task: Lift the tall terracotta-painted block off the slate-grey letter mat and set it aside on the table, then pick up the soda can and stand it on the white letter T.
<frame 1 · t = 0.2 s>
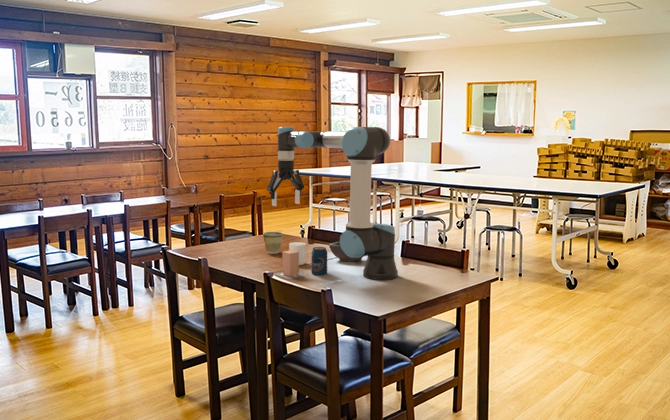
hand: (286, 204, 296), 28 cm above the table, tool pointing down, fingers open, 13 cm apart
soda can: (319, 275, 275), on the table
block: (290, 274, 273), point 1 cm above the table, touching mat
mortar and pestle: (349, 261, 305), on the table
mat: (290, 275, 273), on the table
white cup: (297, 265, 295), on the table
ceramic cup: (274, 252, 323), on the table
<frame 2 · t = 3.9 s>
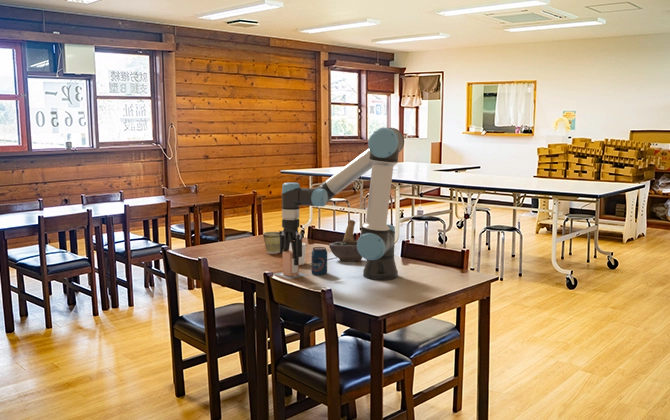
hand: (290, 271, 273), 2 cm above the table, tool pointing down, fingers closed on block, 5 cm apart
block: (290, 274, 273), point 1 cm above the table, touching gripper, mat
everything else where it was.
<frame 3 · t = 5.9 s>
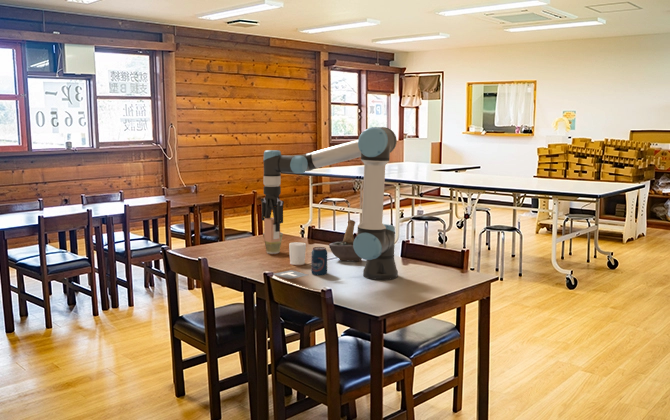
hand: (272, 237, 278), 16 cm above the table, tool pointing down, fingers closed on block, 5 cm apart
block: (272, 240, 278), point 14 cm above the table, touching gripper
everything else where it was.
when the fingers open (3 cm above the table, at t = 8.3 s): block drops 2 cm, on the table.
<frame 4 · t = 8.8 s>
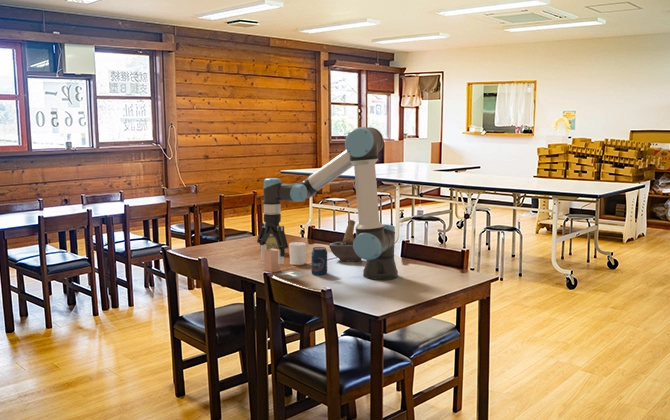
hand: (272, 261, 279), 5 cm above the table, tool pointing down, fingers open, 12 cm apart
block: (272, 272, 280), on the table
everything else where it was.
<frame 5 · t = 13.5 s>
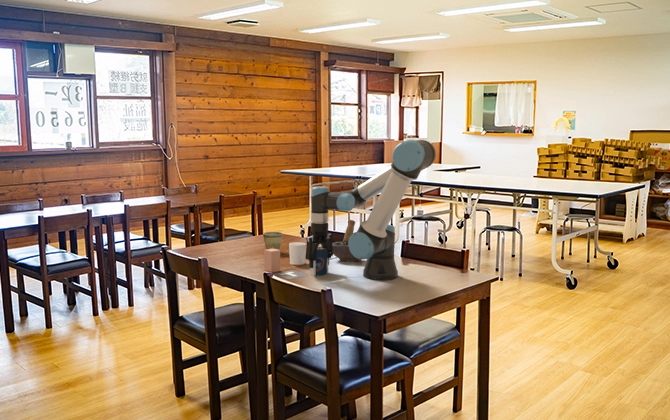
hand: (319, 273, 275), 1 cm above the table, tool pointing down, fingers closed on soda can, 7 cm apart
soda can: (319, 275, 275), on the table, touching gripper
everything else where it was.
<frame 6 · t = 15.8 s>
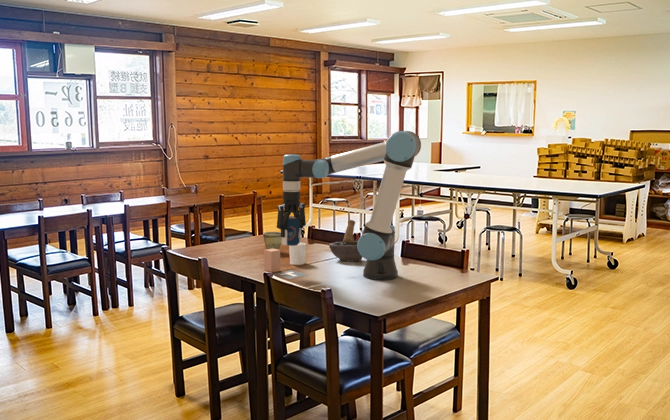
hand: (291, 243, 271), 14 cm above the table, tool pointing down, fingers closed on soda can, 7 cm apart
soda can: (291, 245, 271), point 14 cm above the table, touching gripper
everything else where it was.
when the fingers open (3 cm above the table, at t = 18.2 s): soda can drops 2 cm, resting on mat.
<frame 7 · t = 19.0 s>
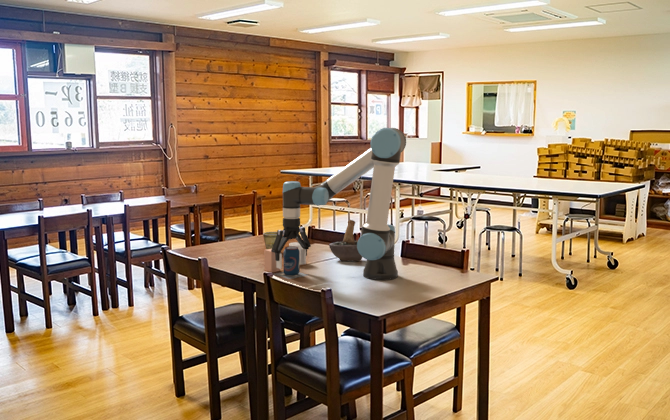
hand: (291, 265, 272), 4 cm above the table, tool pointing down, fingers open, 13 cm apart
soda can: (291, 275, 273), resting on mat
everything else where it was.
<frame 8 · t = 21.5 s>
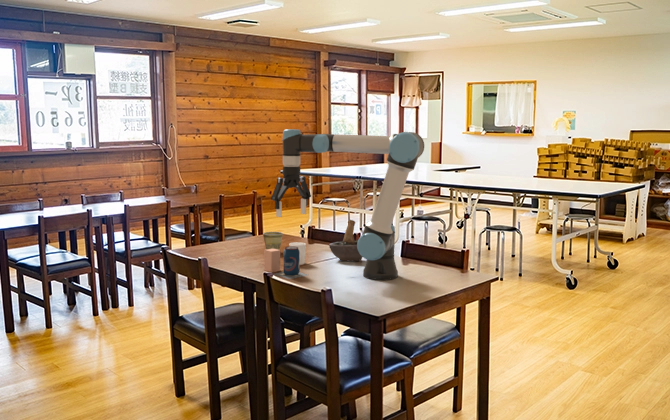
hand: (291, 215, 269), 27 cm above the table, tool pointing down, fingers open, 13 cm apart
nothing on the table moved.
at the end: soda can inside the target area on the mat (0.5 cm from its centre), point 0.4 cm above the mat's base; soda can tilted 0°; block touching table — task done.
